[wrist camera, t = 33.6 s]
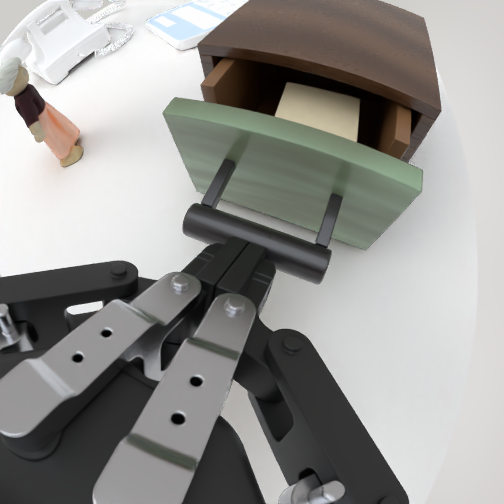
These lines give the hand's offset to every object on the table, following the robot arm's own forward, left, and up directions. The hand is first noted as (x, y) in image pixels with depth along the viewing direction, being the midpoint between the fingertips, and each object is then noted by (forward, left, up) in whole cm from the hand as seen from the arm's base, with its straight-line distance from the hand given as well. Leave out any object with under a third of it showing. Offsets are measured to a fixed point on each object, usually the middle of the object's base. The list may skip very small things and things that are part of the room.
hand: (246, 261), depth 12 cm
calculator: (+15, -35, -6) cm, 38 cm away
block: (-1, -9, -4) cm, 10 cm away
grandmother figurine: (+22, -8, -6) cm, 24 cm away
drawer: (-1, -9, -5) cm, 10 cm away
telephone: (+37, -28, -6) cm, 47 cm away
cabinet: (-1, -17, -6) cm, 18 cm away
